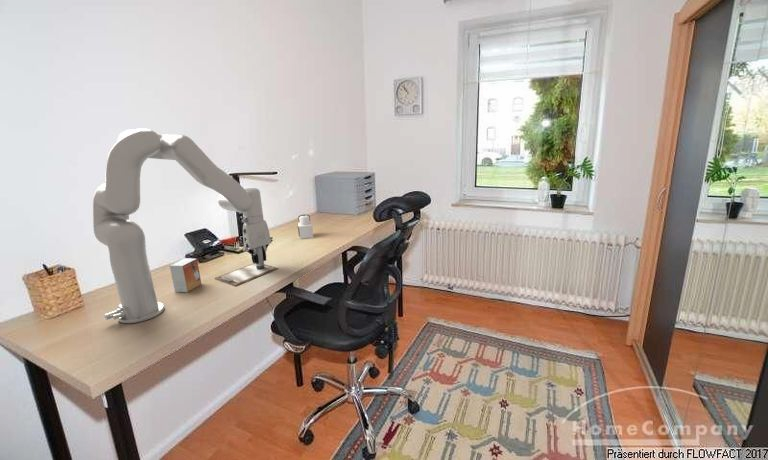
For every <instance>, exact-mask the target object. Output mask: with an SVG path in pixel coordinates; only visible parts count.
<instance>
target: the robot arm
mask: <svg viewBox="0 0 768 460" xmlns="http://www.w3.org/2000/svg"><path fill="white" fill-rule="evenodd" d="M147 159H156V160H169V161H170V160H172V161H176V162H177V163H178V164H179V165H180V166H181V167H182V168H183V169H184V170H185V171H186V172H187V173H188V174H189V175H190V176H191V177H192V178H193V179H194V180H195V181H196V182H198V183H199V184H201V185H203V186H204V187H206V188H209V189H211V190H213V191H215V192H217V193H218V194H219V196H218V198H217V203H218V205H219V207H220V208H221V209H223V210H225V211H231V212H235V213H242V217H243V218H242V219H241V223H243V224H242V238H243V247H242V251H243V252H246V253H249V254H250V255H251V261H252V264H253V263H255V264H258V263H259V261H258V255H257V254H256V248H258V247H261V246H262V252H263V259H264V262H266V261H267V254H266V253H267V251H268V250H267V249H268V247H269V246H270V244H271V243H272V240H271V235H270V230H269V226H268V224H267V221H266V220H265V218H264V213H263V204H262V203H263V202H262V196H261V191H260V189H259V188H255V187H248V188H244V187H243V186H242V185H241V184H240V182H238V181H237V180H236V179H235V178H233V177H232V176H230V175H229V174H228V173H226V172H225V171H224V170H222V169H221V168H220V167H218V166H217V165H216V164H215V162H213V161H212V160H211V159H210V158H209V156H208V155H206V153H205V152H204V151H203V149H201V148H200V147H199V146H198V144H196V142H195V141H194V140H192V139H191V138H190V137H189V136H187V135H184V134H162V133H157V132H156V131H154V130H151V129H148V128H136V129H127V130H124V131H123V132H121V133H120V134H119V135H118V138H117V142H116V143H115V144H114V145H113V146H112V148H111V149H110V150H109V152H108V155H107V159H106V164H105V175H104V177H105V178H104V179H105V181H104V183H103V184H101V185H100V186H98V187H97V189H95V191H94V194H93V200H92V208H93V209H92V212H93V213H92V215H93V218H92V221H93V222H92V223H93V233H94V236H95V238H96V240H98V241H99V243H101V244H102V245H104V246H107V247H108V253H109V262H110V267H111V271H112V274H113V278H114V282H115V285H116V286H115V287H116V289H117V294H118V297H119V302H120V304H119V305H118V304H117V308H116V309H115V310H114V311H109V312H107V313H104V314H103V316H104V318H105V320H106V321H108V320H110V319H112V320H117V319H118V321H119V322H121V323H122V324H133V323H135V324H136V323H140V322H144V321H147V320H151V319H153V318H155V317H157V316H158V315H160V314H161V313H162V312H164V310H165V305H164V303H162V302H160V301H158V300H157V296H156V295H157V294H156V291H155V286H154V282H153V277H152V273H151V268H150V265H149V259H148V255H147V249H146V247H147V246H146V236H145V233H144V231H143V228H141V226H140V225H139V224H137V223H136V222H134V221H132V220H130V215H132V214H135V213H136V212H137V211H138V210H139V209H140V206H141V172H142V167H143V164H144V163H145V161H147Z"/></svg>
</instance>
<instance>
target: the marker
mask: <svg viewBox="0 0 768 460" xmlns="http://www.w3.org/2000/svg"><path fill="white" fill-rule="evenodd" d="M256 254H257V255H258V261H259V263H258V264H256V268H257V269H258V270H260V269H264V268H265V267H264V264H265V261H264V259H263V252H262V246H261V247H258V248H256Z"/></svg>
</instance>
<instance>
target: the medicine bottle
mask: <svg viewBox="0 0 768 460" xmlns="http://www.w3.org/2000/svg"><path fill="white" fill-rule="evenodd" d="M297 218H298V223H297V231H298V237H299V240H304V239H305V240H306V239H312V238H314V230H313V224H312V222H311V216H310V215H309V214H301V215H298V217H297Z"/></svg>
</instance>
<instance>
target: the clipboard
mask: <svg viewBox="0 0 768 460" xmlns="http://www.w3.org/2000/svg"><path fill="white" fill-rule="evenodd" d="M264 267H265V268H264V269H260V270H258V269H257V268H256V264H255V263H253V262H252V263H250V264H248V265H246V266H243V267H240V268H238V269H235V270H232V271H230V272H227V273H224V274H221V275H219V276H217V277H214V280H217V281H220V282H222V283H225V284H228V285H230V284H231V285H230V286H233V285H234V286H233V287H237V286H240V285H243V284H244V283H247V281H248V282H249V281H253V280H255V279H257V278H260V277H262V276H263V275H266V274H269V273H271V272H274V271H277V270H278V269H279V268H278V267H276V266H272V265H270V264H269V265H268V264H265V263H264ZM242 283H243V284H242Z"/></svg>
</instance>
